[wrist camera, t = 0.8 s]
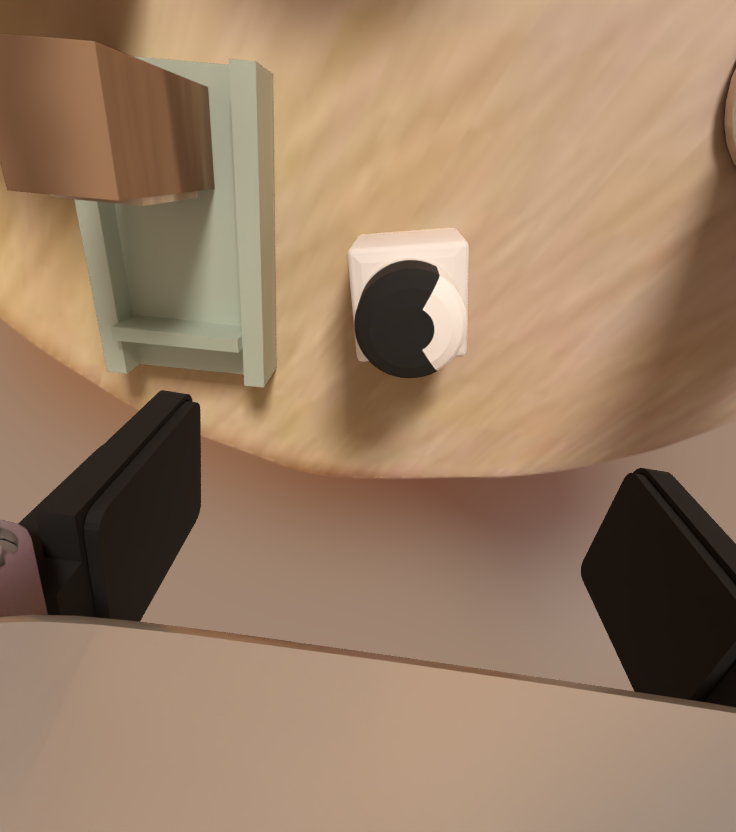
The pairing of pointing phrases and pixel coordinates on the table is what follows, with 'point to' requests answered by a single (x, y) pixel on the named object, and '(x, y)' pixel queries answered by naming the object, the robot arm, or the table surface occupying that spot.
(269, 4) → the table surface
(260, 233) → the pale green rimmed tray
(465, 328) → the medicine bottle
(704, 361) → the table surface
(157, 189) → the fitted walnut block
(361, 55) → the table surface
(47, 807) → the robot arm
